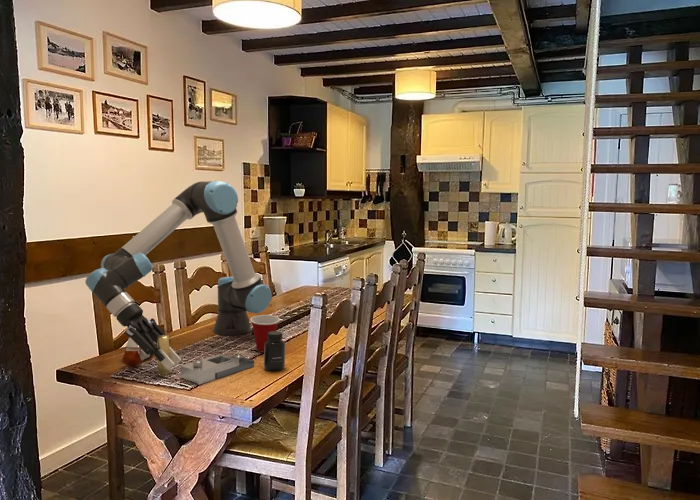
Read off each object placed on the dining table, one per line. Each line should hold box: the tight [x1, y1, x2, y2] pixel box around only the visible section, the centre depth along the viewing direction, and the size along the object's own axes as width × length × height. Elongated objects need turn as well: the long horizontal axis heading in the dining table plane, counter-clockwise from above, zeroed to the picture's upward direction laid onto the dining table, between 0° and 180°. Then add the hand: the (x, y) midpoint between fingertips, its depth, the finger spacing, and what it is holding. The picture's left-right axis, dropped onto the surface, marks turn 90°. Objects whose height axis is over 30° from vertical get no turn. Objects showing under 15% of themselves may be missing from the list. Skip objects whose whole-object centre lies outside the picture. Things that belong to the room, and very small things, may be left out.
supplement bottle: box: [263, 330, 286, 372], centre depth 167 cm, size 7×7×12 cm
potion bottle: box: [121, 337, 156, 368], centre depth 172 cm, size 9×10×15 cm
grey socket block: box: [180, 353, 239, 386], centre depth 160 cm, size 16×9×6 cm, turn 143°
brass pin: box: [156, 334, 171, 376], centre depth 160 cm, size 4×4×12 cm
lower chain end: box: [215, 353, 255, 380], centre depth 165 cm, size 16×9×4 cm, turn 143°
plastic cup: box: [249, 314, 281, 353], centre depth 187 cm, size 11×11×12 cm
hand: (174, 364), depth 160 cm, fingers closed on brass pin, 3 cm apart
